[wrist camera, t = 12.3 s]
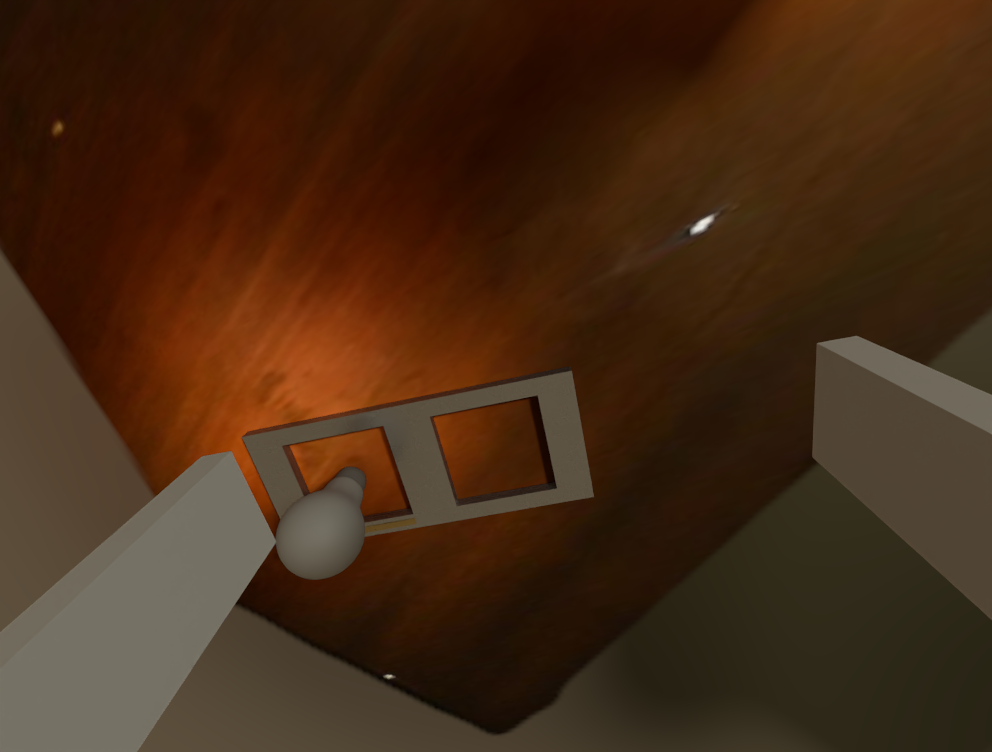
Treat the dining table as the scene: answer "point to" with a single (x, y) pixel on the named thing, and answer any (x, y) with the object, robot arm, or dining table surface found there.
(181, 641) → the robot arm
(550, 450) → the grey window frame
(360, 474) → the lightbulb
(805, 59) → the dining table surface
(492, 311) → the dining table surface
